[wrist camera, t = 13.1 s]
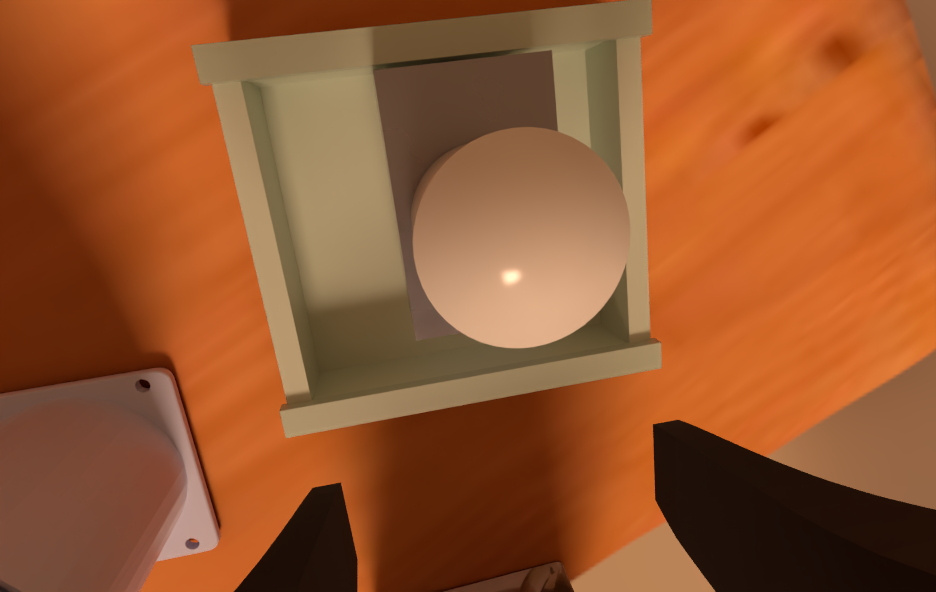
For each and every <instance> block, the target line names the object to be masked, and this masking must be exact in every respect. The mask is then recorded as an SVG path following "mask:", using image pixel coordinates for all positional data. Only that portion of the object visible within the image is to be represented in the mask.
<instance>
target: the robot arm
mask: <svg viewBox="0 0 936 592" xmlns="http://www.w3.org/2000/svg"><path fill="white" fill-rule="evenodd" d="M140 379H143V380H146V381H148V382H149V383H150V388H144V387H142V386H141V384H140V382H139V380H140ZM653 438H654V470H655V500H656V502H657V504H658V506H659V507H660V509H661V511H662V513H663V515H664V517H665V519H666V521H667V522H668V524H669V526H670V527H671V529H672V531H673V533H674V534H675V536H676V538H677V539H678V541H679V542H680V544H681V545H682V546H683V548H684V549H685V551H686V552H687V553H688V555H689V556H690V557H691V559H692V560H693V562H694V563H695V564H696V566H697V567H698V568H699V570H700V571H701V573H702V574H703V575H704V577H705V578H706V579H707V580H708V582H709V583H710V585H711V586H712V587H713V589H714V590H715V591H716V592H936V510H934V509H930V508H925V507H921V506H917V505H912V504H909V503H905V502H900V501H896V500H892V499H888V498H884V497H881V496H877V495H873V494H870V493H866V492H863V491H859V490H856V489H853V488H850V487H846V486H843V485H840V484H837V483H834V482H830V481H827V480H824V479H822V478H819V477H816V476H813V475H810V474H808V473H805V472H802V471H800V470H797V469H794V468H792V467H789V466H787V465H784V464H781V463H779V462H776V461H774V460H772V459H769V458H767V457H764V456H762V455H760V454H757V453H755V452H753V451H750V450H748V449H746V448H743V447H741V446H739V445H737V444H734V443H732V442H730V441H728V440H725V439H723V438H721V437H719V436H716V435H714V434H712V433H710V432H707V431H705V430H703V429H700V428H698V427H696V426H693V425H691V424H688V423H686V422H683V421H680V420H675V421H669V422H664V423H658V424H653ZM190 538H194V539H197V540H198V541H199V542H198V543H193V542H191V541H190V540H189V539H190ZM219 540H220V530H219V527H218V523H217V520H216V517H215V513H214V510H213V507H212V503H211V500H210V496H209V493H208V490H207V486H206V483H205V479H204V476H203V473H202V469H201V466H200V462H199V459H198V456H197V452H196V449H195V445H194V442H193V439H192V435H191V432H190V429H189V425H188V422H187V418H186V415H185V412H184V408H183V405H182V401H181V398H180V395H179V391H178V388H177V384H176V381H175V378H174V376H173V374H172V373H171V372H170V371H169V370H168V369H165V368H151V369H145V370H139V371H133V372H127V373H121V374H115V375H109V376H103V377H97V378H91V379H86V380H80V381H74V382H68V383H62V384H56V385H50V386H44V387H38V388H32V389H26V390H20V391H14V392H8V393H2V394H0V592H140V590H141V588H142V587H143V585H144V583H145V581H146V579H147V577H148V575H149V573H150V572H151V570H152V568H153V566H154V564H155V562H156V561H161V560H166V559H171V558H176V557H181V556H185V555H190V554H195V553H200V552H205V551H209V550H212V549H214V548H215V547H216V546H217V544H218V542H219ZM234 592H357V555H356V551H355V546H354V542H353V537H352V532H351V528H350V523H349V519H348V514H347V509H346V505H345V500H344V496H343V491H342V486H341V483H336V484H331V485H326V486H320V487H315V488H312V490H311V491H310V492H309V493H308V495H307V496H306V498H305V499H304V500H303V502H302V503H301V505H300V506H299V508H298V509H297V510H296V512H295V513H294V515H293V516H292V518H291V519H290V520H289V522H288V523H287V525H286V526H285V527H284V529H283V530H282V532H281V533H280V534H279V536H278V537H277V538H276V540H275V541H274V542H273V544H272V545H271V546H270V548H269V549H268V550H267V552H266V553H265V554H264V556H263V557H262V558H261V560H260V561H259V562H258V563H257V565H256V566H255V567H254V568H253V569H252V571H251V572H250V573H249V574H248V575H247V577H246V578H245V579H244V580H243V582H242V583H241V584H240V585H239V586H238V588H237V589H236V590H235V591H234Z"/></svg>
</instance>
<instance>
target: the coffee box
mask: <svg viewBox="0 0 936 592" xmlns="http://www.w3.org/2000/svg"><path fill="white" fill-rule="evenodd" d="M444 592H574V590H573V588H572V586H571V584H570V581H569V579H568V576H567V574H566V571H565V568H564V565H563V564H562V563H561V562H553V563H549V564H545V565H542V566H538V567H534V568H530V569H527V570H523V571H519V572H515V573H511V574H508V575H504V576H500V577H496V578H493V579H489V580H485V581H481V582H478V583H474V584H470V585H466V586H462V587H459V588H455V589H451V590H447V591H444Z"/></svg>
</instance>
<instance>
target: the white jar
mask: <svg viewBox="0 0 936 592" xmlns="http://www.w3.org/2000/svg"><path fill="white" fill-rule="evenodd" d="M411 225H412V231H413V240H412V244H413V257H414V261H415V266H416V271H417V274H418V277H419V279H420V282H421V285H422V287H423V289H424V291H425V293H426V295H427V297H428V299H429V301H430V302H431V303H432V305H433V306H434V308H435V309H436V310H437V312H438V313H439V314H440V315H441V316H442V317H443V318H444V319H445V320H446V321H447V322H448V323H449V324H451V325H452V326H453V327H454V328H455V329H457V330H458V331H460V332H461V333H463V334H465V335H466V336H468V337H470V338H472V339H475V340H477V341H479V342H482V343H485V344H489V345H492V346H497V347H504V348H529V347H536V346H540V345H545V344H548V343H551V342H554V341H557V340H559V339H562V338H563V337H565V336H567V335H569V334H571V333H573V332H575V331H576V330H578V329H579V328H581V327H582V326H584V325H585V324H586V323H587V322H588V321H589V320H591V319H592V318H593V317H594V316H595V315H596V314H597V313H598V312H599V311H600V310H601V309H602V307H603V306H604V305H605V304H606V302H607V301H608V300H609V298H610V297H611V295H612V294H613V292H614V290H615V288H616V287H617V285H618V283H619V281H620V278H621V276H622V274H623V271H624V268H625V265H626V261H627V258H628V252H629V246H630V219H629V212H628V207H627V203H626V199H625V197H624V194H623V191H622V189H621V186H620V184H619V183H618V181H617V179H616V177H615V175H614V174H613V172H612V171H611V170H610V168H609V167H608V165H607V164H606V163H605V162H604V161H603V160H602V159H601V158H600V157H599V156H598V155H597V153H595V152H594V151H593V150H592V149H590V148H589V147H588V146H586V145H585V144H584V143H582V142H580V141H578V140H577V139H575V138H573V137H571V136H568V135H566V134H563V133H561V132H558V131H554V130H550V129H545V128H536V127H517V128H510V129H504V130H499V131H495V132H492V133H489V134H486V135H483V136H481V137H479V138H477V139H475V140H473V141H471V142H469V143H467V144H464V145H461V146H458V147H456V148H454V149H452V150H450V151H448V152H447V153H445V154H444V155H442V156H441V157H440V158H438V159H437V160H436V161H435V162H434V163H433V164H432V165H431V166H430V167H429V169H428V170H427V171H426V172H425V174H424V175H423V177H422V179H421V180H420V182H419V184H418V187H417V189H416V192H415V195H414V198H413V203H412V208H411Z"/></svg>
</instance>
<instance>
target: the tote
mask: <svg viewBox="0 0 936 592" xmlns="http://www.w3.org/2000/svg"><path fill="white" fill-rule="evenodd" d="M651 34H652V0H627V1H617V2H608V3H598V4H588V5H578V6H569V7H559V8H549V9H539V10H530V11H520V12H510V13H500V14H491V15H481V16H471V17H462V18H452V19H442V20H432V21H423V22H413V23H403V24H393V25H384V26H374V27H364V28H354V29H345V30H335V31H325V32H315V33H306V34H296V35H286V36H276V37H267V38H257V39H247V40H237V41H228V42H218V43H208V44H198V45H191V47H192V52H193V56H194V60H195V64H196V68H197V72H198V76H199V81H200V84H202V85H205V86H209V85H212V87H213V92H214V96H215V100H216V104H217V109H218V113H219V117H220V121H221V125H222V130H223V134H224V138H225V142H226V147H227V151H228V155H229V159H230V164H231V168H232V172H233V176H234V180H235V185H236V189H237V193H238V197H239V202H240V206H241V210H242V214H243V219H244V223H245V227H246V231H247V235H248V240H249V244H250V248H251V252H252V257H253V261H254V265H255V269H256V273H257V278H258V282H259V286H260V290H261V295H262V299H263V303H264V307H265V312H266V316H267V320H268V324H269V328H270V333H271V337H272V341H273V345H274V350H275V354H276V358H277V362H278V367H279V371H280V375H281V379H282V383H283V388H284V392H285V396H286V400H287V404H283V405H282V406H281V409H280V415H281V420H282V424H283V428H284V432H285V436H286V438H289V437H294V436H300V435H305V434H311V433H316V432H321V431H327V430H332V429H337V428H343V427H348V426H354V425H359V424H364V423H370V422H375V421H380V420H386V419H391V418H397V417H402V416H407V415H413V414H418V413H423V412H429V411H434V410H440V409H445V408H450V407H456V406H461V405H466V404H472V403H477V402H482V401H488V400H493V399H499V398H504V397H509V396H515V395H520V394H525V393H531V392H536V391H542V390H547V389H552V388H558V387H563V386H568V385H574V384H579V383H585V382H590V381H595V380H601V379H606V378H611V377H617V376H622V375H628V374H633V373H638V372H644V371H649V370H654V369H660V368H662V361H661V342H659V341H658V340H657V339H655V338H651V339H650V311H649V281H648V250H647V220H646V190H645V160H644V130H643V100H642V70H641V40H640V37H646V36H649V35H651ZM549 50H552V58H553V71H554V85H555V98H556V111H557V125H558V132H561V133H563V134H566V135H568V136H571V137H573V138H575V139H577V140H578V141H580V142H582V143H584V144H585V145H586V146H588V147H589V148H590V149H592V150H593V151H594V152H595V153H597V155H598V156H599V157H600V158H601V159H602V160H603V161H604V162H605V163H606V164H607V165H608V167H609V168H610V170H611V171H612V172H613V174H614V175H615V177H616V179H617V181H618V183H619V184H620V186H621V189H622V191H623V194H624V197H625V199H626V203H627V207H628V212H629V219H630V246H629V252H628V258H627V261H626V265H625V268H624V271H623V274H622V276H621V278H620V281H619V283H618V285H617V287H616V288H615V290H614V292H613V294H612V295H611V297H610V298H609V300H608V301H607V302H606V304H605V305H604V306H603V307H602V309H601V310H600V311H599V312H598V313H597V314H596V315H595V316H594V317H593V318H592V319H591V320H589V321H588V322H587V323H586V324H585V325H584V326H582V327H581V328H579V329H578V330H576V331H575V332H573V333H571V334H569V335H567V336H565V337H563V338H562V339H559V340H557V341H554V342H551V343H548V344H545V345H540V346H536V347H529V348H504V347H497V346H492V345H489V344H485V343H482V342H479V341H477V340H475V339H472V338H470V337H468V336H466V335H465V334H463V333H458V334H452V335H446V336H440V337H435V338H429V339H423V340H417V341H416V338H415V333H414V328H413V323H412V318H411V313H410V308H409V302H408V297H407V291H406V285H405V279H404V272H403V266H402V260H401V254H400V248H399V241H398V235H397V229H396V223H395V216H394V210H393V204H392V198H391V191H390V185H389V179H388V173H387V166H386V160H385V154H384V148H383V141H382V135H381V129H380V123H379V116H378V110H377V104H376V98H375V91H374V79H373V70H379V69H388V68H397V67H406V66H415V65H424V64H433V63H442V62H451V61H460V60H469V59H478V58H487V57H496V56H505V55H513V54H522V53H531V52H540V51H549Z"/></svg>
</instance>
